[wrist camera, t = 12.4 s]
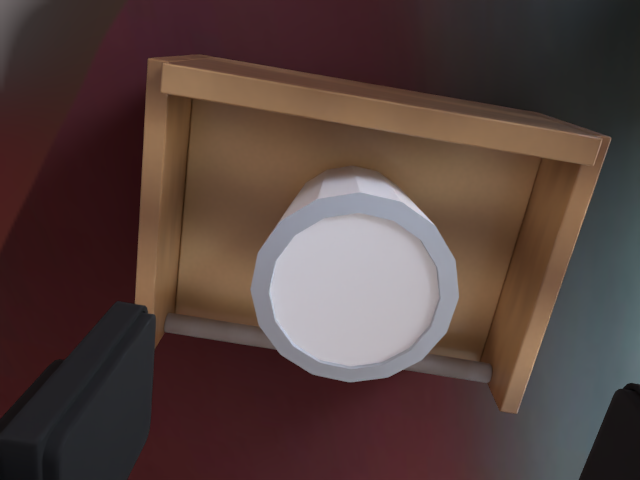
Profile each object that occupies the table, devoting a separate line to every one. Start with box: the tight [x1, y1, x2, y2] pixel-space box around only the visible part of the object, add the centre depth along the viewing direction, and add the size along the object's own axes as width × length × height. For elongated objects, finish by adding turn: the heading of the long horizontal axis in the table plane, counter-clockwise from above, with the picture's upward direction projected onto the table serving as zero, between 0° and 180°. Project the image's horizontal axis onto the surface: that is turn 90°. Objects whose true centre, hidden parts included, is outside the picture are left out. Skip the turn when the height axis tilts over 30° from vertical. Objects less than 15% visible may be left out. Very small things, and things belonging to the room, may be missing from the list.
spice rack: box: [135, 54, 611, 414], centre depth 24 cm, size 12×17×8 cm
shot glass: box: [250, 166, 459, 382], centre depth 21 cm, size 7×7×7 cm
